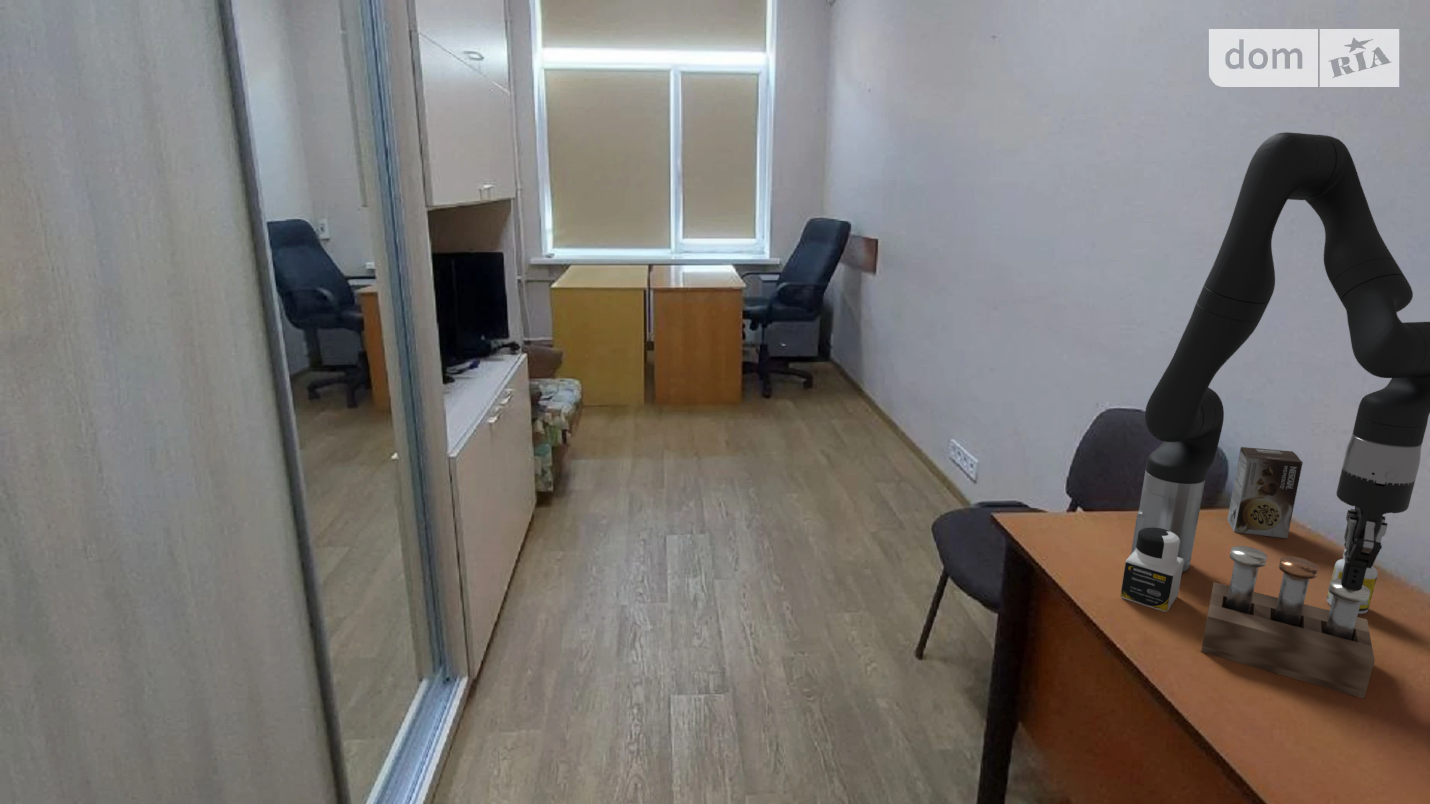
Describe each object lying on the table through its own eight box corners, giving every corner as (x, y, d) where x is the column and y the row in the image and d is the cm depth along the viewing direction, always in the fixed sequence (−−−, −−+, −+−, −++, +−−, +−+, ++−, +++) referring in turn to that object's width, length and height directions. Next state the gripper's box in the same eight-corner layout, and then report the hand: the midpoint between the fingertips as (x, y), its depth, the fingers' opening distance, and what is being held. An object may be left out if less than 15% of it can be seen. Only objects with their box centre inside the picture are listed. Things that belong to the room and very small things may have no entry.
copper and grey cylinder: (1266, 628, 113) (1280, 565, 110) (1267, 614, 116) (1280, 553, 113) (1304, 638, 110) (1319, 574, 107) (1303, 624, 114) (1317, 561, 111)
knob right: (1315, 652, 110) (1330, 588, 107) (1314, 637, 113) (1329, 575, 110) (1354, 663, 107) (1371, 598, 105) (1352, 647, 111) (1368, 584, 108)
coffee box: (1278, 526, 156) (1294, 450, 151) (1288, 539, 150) (1305, 461, 145) (1225, 519, 159) (1240, 445, 154) (1233, 532, 153) (1248, 456, 148)
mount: (1201, 651, 115) (1207, 616, 113) (1207, 615, 125) (1213, 582, 123) (1364, 698, 105) (1374, 660, 103) (1357, 655, 114) (1367, 619, 112)
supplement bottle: (1375, 616, 124) (1390, 562, 121) (1337, 613, 125) (1350, 558, 122) (1355, 599, 129) (1369, 546, 126) (1319, 596, 130) (1331, 543, 127)
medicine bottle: (1119, 598, 130) (1129, 533, 126) (1132, 582, 135) (1142, 519, 131) (1166, 613, 125) (1178, 546, 122) (1178, 596, 130) (1189, 531, 127)
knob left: (1218, 615, 116) (1230, 554, 113) (1220, 602, 120) (1232, 543, 117) (1253, 624, 114) (1266, 562, 111) (1254, 611, 117) (1267, 550, 114)
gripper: (1340, 451, 110) (1315, 560, 115) (1346, 480, 100) (1318, 599, 104) (1409, 461, 106) (1380, 574, 111) (1423, 492, 95) (1390, 616, 100)
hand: (1350, 586), depth 107 cm, fingers closed
